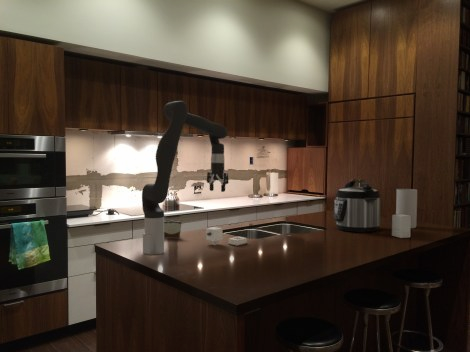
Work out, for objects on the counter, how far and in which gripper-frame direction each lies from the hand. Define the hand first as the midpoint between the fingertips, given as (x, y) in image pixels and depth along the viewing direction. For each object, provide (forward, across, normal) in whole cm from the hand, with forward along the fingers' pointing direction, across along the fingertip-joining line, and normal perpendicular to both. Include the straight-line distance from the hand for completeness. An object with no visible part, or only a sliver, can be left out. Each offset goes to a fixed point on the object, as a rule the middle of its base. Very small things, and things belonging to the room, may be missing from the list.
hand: (217, 191), depth 217 cm
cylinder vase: (+26, +68, +112) cm, 134 cm away
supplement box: (+26, +76, +77) cm, 111 cm away
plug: (+27, +8, -10) cm, 30 cm away
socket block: (+27, +16, -2) cm, 32 cm away
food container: (+27, -23, -12) cm, 38 cm away
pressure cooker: (+26, +47, +81) cm, 97 cm away
